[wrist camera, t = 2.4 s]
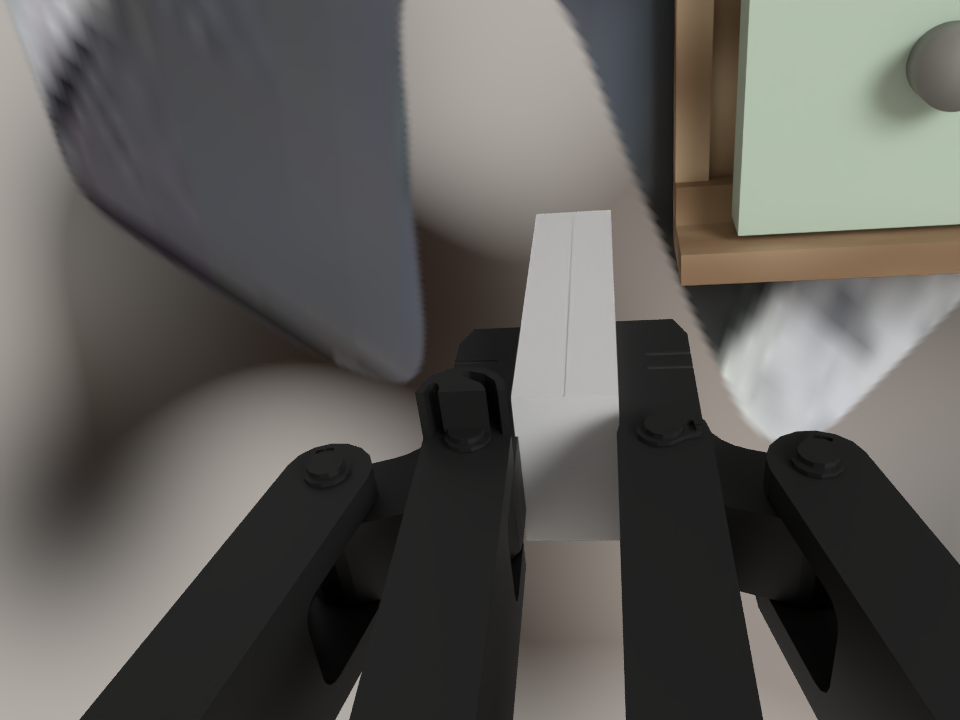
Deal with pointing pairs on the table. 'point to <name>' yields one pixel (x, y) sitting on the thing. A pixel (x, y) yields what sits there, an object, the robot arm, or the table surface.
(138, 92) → the table surface
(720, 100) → the oak box
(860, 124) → the cover plate
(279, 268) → the table surface
